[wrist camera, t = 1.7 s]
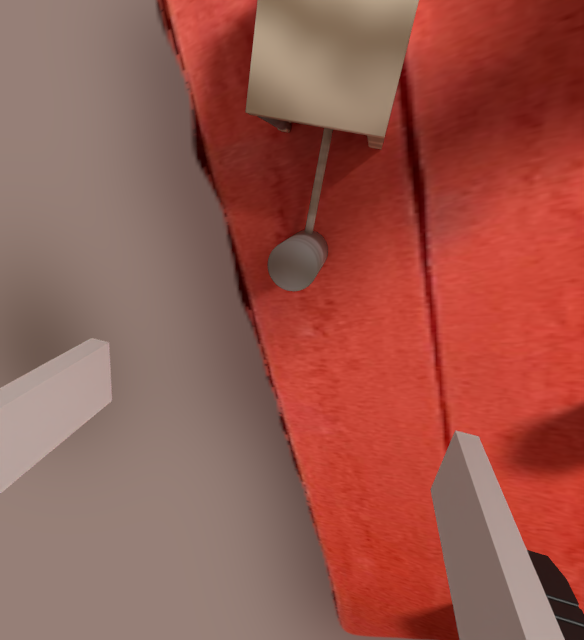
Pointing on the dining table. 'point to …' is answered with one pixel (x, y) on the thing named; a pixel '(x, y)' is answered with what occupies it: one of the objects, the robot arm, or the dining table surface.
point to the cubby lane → (329, 63)
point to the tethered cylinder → (303, 240)
